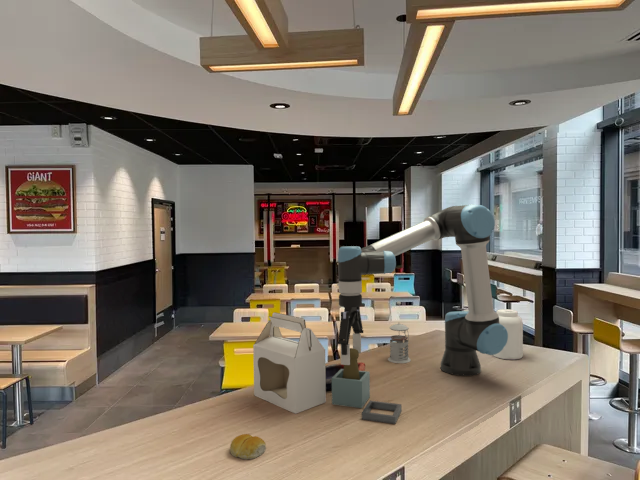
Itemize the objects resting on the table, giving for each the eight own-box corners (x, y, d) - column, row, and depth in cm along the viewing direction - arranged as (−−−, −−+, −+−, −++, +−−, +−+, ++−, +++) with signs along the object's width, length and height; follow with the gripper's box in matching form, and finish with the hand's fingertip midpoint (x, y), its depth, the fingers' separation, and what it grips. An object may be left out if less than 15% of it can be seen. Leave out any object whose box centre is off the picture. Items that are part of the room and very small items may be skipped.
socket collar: (401, 410, 140) (401, 404, 140) (395, 424, 131) (395, 417, 131) (369, 406, 144) (369, 400, 144) (361, 419, 134) (361, 412, 134)
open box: (369, 396, 152) (369, 371, 152) (362, 408, 143) (361, 381, 142) (341, 393, 155) (341, 368, 155) (331, 404, 146) (331, 378, 146)
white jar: (519, 352, 202) (519, 308, 201) (525, 361, 190) (525, 313, 189) (489, 351, 205) (489, 307, 204) (493, 359, 193) (493, 312, 192)
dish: (287, 385, 164) (287, 372, 164) (353, 369, 182) (353, 357, 182) (311, 398, 152) (310, 383, 152) (379, 380, 169) (379, 366, 169)
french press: (383, 360, 193) (382, 301, 192) (397, 354, 202) (397, 298, 201) (403, 364, 187) (403, 304, 186) (417, 358, 196) (416, 300, 195)
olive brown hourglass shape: (359, 385, 145) (359, 351, 145) (340, 384, 146) (340, 351, 146) (361, 379, 151) (360, 346, 151) (343, 378, 152) (342, 346, 152)
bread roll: (244, 441, 122) (244, 426, 122) (270, 449, 117) (270, 434, 117) (222, 454, 115) (222, 438, 115) (249, 464, 110) (248, 447, 110)
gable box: (253, 395, 155) (252, 313, 154) (283, 385, 164) (282, 308, 163) (296, 414, 139) (294, 323, 138) (326, 402, 148) (325, 317, 147)
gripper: (350, 288, 161) (351, 347, 162) (326, 299, 137) (328, 368, 138) (370, 288, 158) (371, 349, 159) (350, 300, 135) (352, 371, 136)
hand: (351, 358), depth 149 cm, fingers open, 13 cm apart
